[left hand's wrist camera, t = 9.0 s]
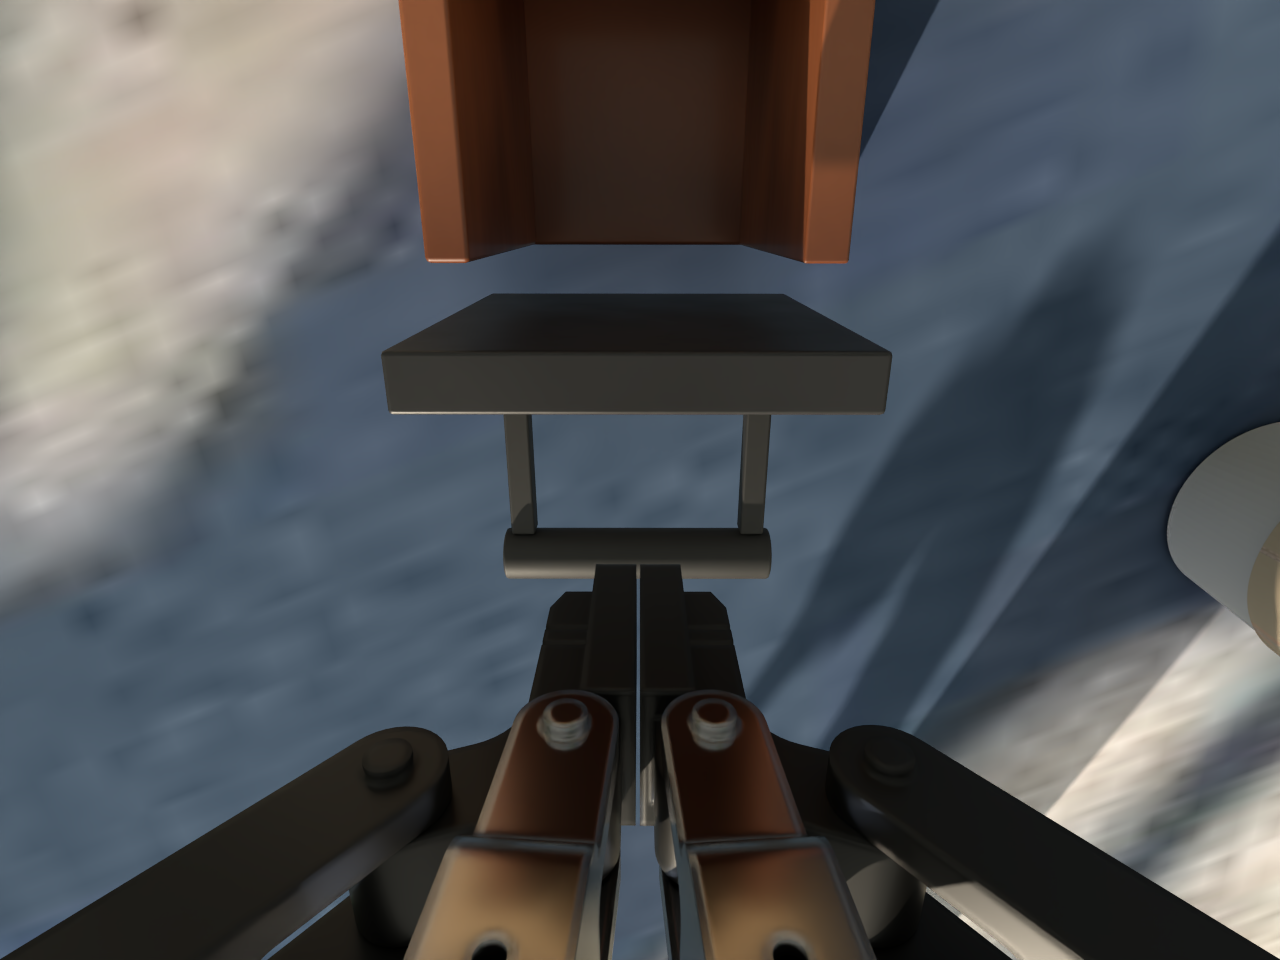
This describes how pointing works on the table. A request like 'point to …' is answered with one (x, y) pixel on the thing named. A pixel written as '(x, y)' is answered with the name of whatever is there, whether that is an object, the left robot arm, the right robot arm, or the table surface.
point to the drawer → (637, 232)
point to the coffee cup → (1234, 529)
